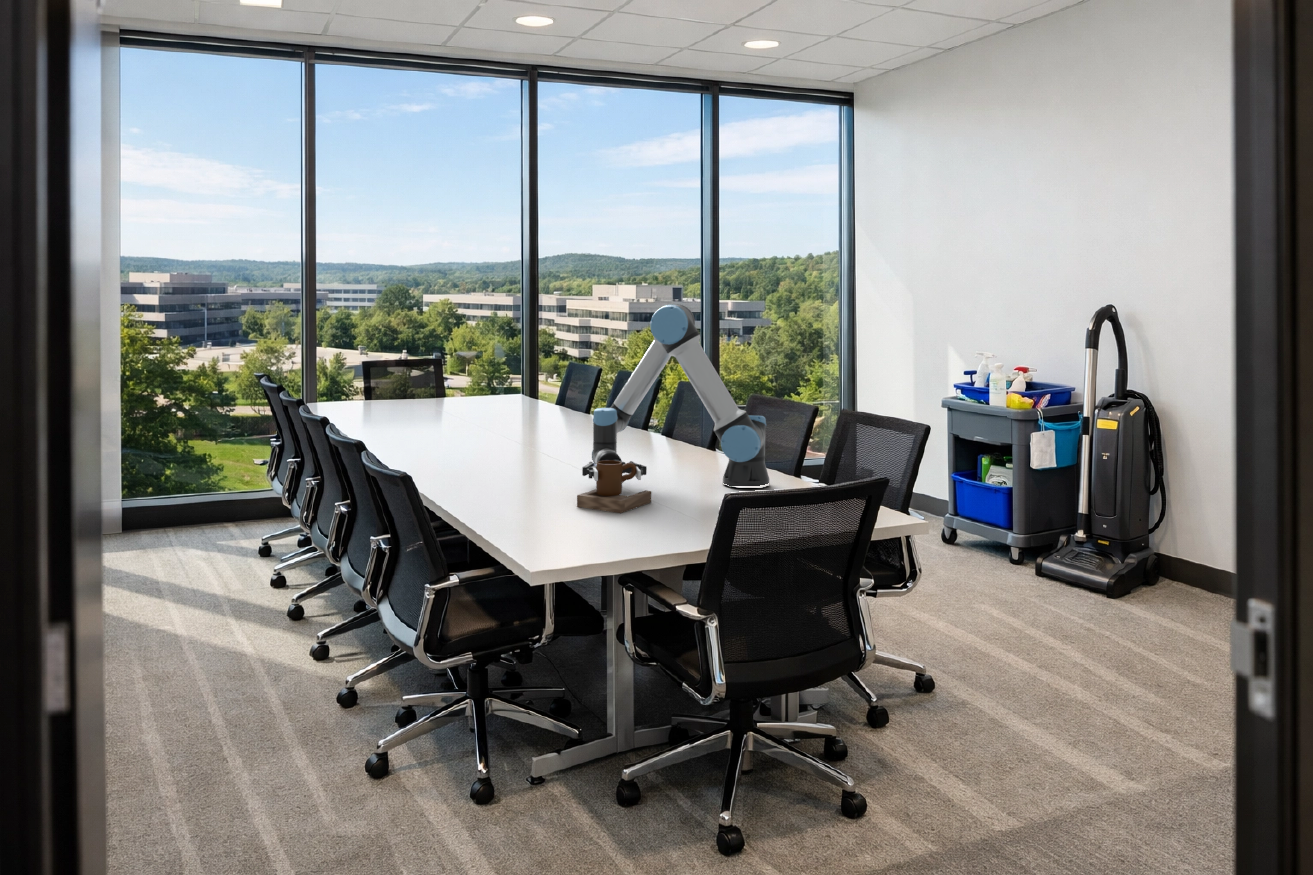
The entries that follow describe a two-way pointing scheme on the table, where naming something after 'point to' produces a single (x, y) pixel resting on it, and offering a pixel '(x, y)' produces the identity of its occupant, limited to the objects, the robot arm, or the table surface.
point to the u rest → (613, 501)
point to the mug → (612, 477)
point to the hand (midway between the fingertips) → (618, 475)
